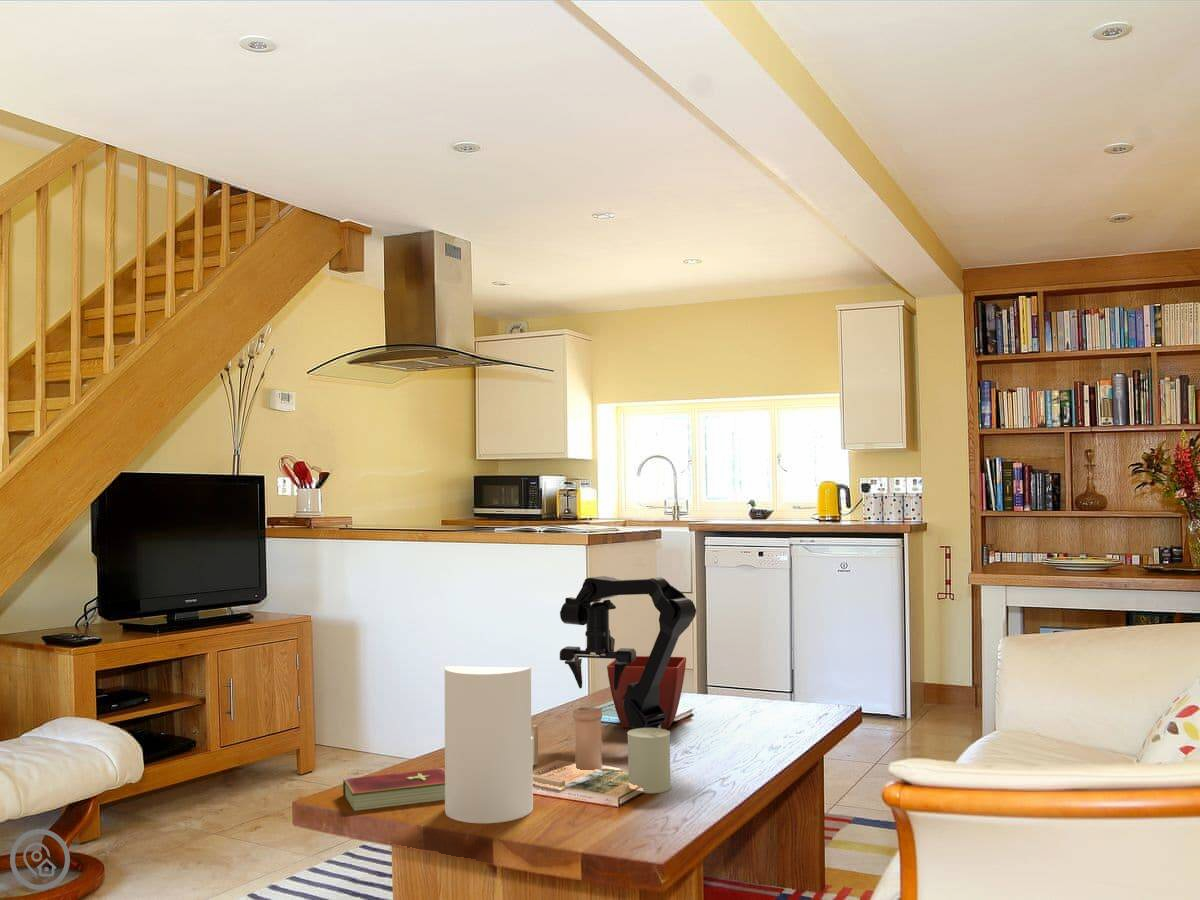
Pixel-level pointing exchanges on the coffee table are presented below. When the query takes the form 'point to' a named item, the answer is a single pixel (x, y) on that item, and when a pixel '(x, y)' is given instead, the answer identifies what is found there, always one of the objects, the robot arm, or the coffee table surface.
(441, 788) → the hardcover book
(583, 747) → the tan tall round cup
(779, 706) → the coffee table surface
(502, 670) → the cylinder
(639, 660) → the plant pot
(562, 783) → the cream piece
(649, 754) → the can
